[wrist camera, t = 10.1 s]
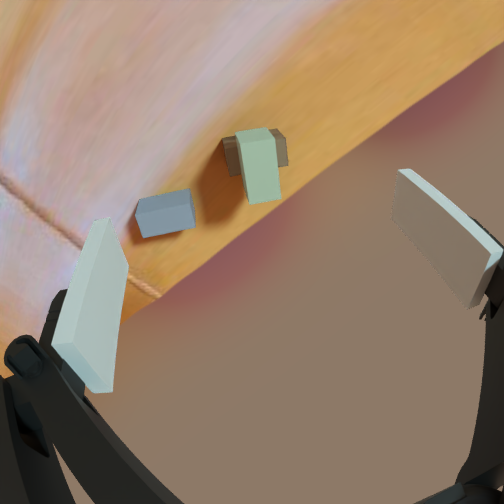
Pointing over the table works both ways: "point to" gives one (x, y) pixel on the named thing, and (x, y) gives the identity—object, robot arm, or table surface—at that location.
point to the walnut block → (233, 156)
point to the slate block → (165, 213)
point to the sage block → (258, 165)
